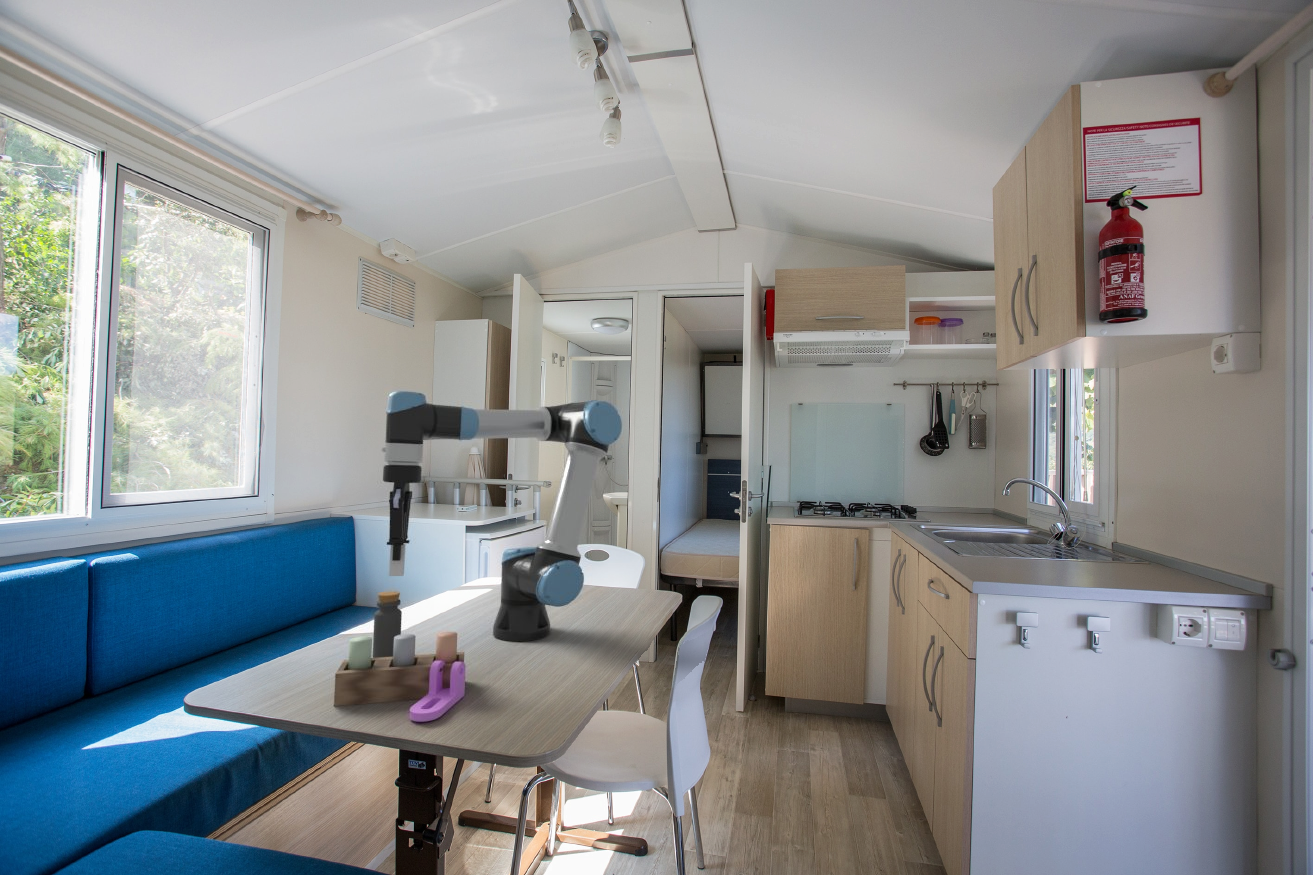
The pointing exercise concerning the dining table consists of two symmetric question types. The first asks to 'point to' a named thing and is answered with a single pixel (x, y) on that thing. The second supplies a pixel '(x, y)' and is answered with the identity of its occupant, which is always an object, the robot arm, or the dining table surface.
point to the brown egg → (446, 647)
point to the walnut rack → (387, 680)
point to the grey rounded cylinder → (404, 650)
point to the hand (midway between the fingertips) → (396, 575)
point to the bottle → (386, 624)
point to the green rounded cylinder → (360, 653)
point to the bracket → (440, 693)
